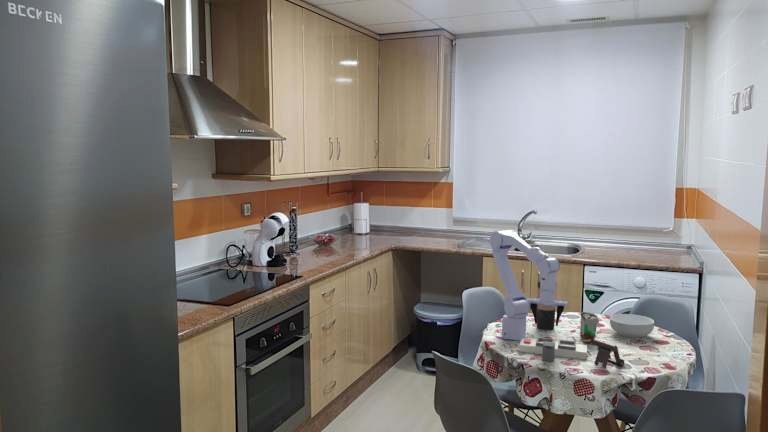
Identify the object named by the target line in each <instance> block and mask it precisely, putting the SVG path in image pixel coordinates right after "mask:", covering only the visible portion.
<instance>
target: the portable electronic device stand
mask: <svg viewBox="0 0 768 432" xmlns="http://www.w3.org/2000/svg"><path fill="white" fill-rule="evenodd" d="M592 345H594V346H596V347H597V353H596V356H595V360H594V365H596V366H599V364H600V363H601V364H602V366H601V367H602V368H603V369H606V368H607V365H608V363H611V364H615V365H618V366H619V367H623V366H624V365H625V359H622V358H621V357H620V353H619V350H618V346H617V345H616V344H615V345H614V344H612V343H609V342H605V341H602V340H599V339H597V338H595V339H594V340H593V343H592ZM612 352H613V356H614V357H612V355H611V353H612Z"/></svg>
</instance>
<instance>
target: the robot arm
mask: <svg viewBox="0 0 768 432" xmlns="http://www.w3.org/2000/svg"><path fill="white" fill-rule="evenodd" d="M488 241H489V244H490V246H491V249H492V251H491V252H492V256H493V259H494V262H495V265H496V268H497V271H498V275H499V277H500V279H501V282H502V286H503V288H504V292H505V296H504V298H503V300H502V302H503V306H504V307H503V309H504V312H505V314H503V316H502V322H501V323H502V324H501V339H504V340H513V341H520V342H521V340H522V338H528V336H529V335H528V334H527V317H529V316H528V315H529V313H530V312H531V313H532V317H533V320H534V324H536V325H537V308H538V305H546V306H556V317H555V319H556V320H555V326H556V327H559V321H560V318H561V316H562V314H563V312H564V310H565V309H568V301H563V300H557V299H556V300H555V293H556V294H557V272H558V271H559V270H560V268H561V263H560V260H559V259H558V258H557V257H555V256H549V254H548V253H545V252H543V250H541V248H540V247H538V246H533V247H532V246H530V244H528V243H527V242H526V241H525V240H524V239H523V238H521V237H520V236H519V234H518V232H516V231H515V230H514V229H507V230H499V231H498V230H494V231H492V232H491V234H490V237H489V239H488ZM513 247H514V248H516V249H517V250H519V251H520V252H522V253H524V254H525V257H526V259H527V260H528V261H530V262H531V263H532V264H533V265H535V266H536V267H537V270H538V272H539V277H540V281H539V282H540V299H537V298H527V295H526V294H525V293H524V292H522V291H521V290H520V288H519V284H518V283H517V280H516V275H515V273H514V271H513V268H512V264H511V262H510V259H509V256H508V254H509V252H510V251H511V249H512V248H513Z"/></svg>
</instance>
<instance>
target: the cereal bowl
mask: <svg viewBox="0 0 768 432" xmlns="http://www.w3.org/2000/svg"><path fill="white" fill-rule="evenodd" d="M609 325H610V327H611V329H612V330H613V331H614V332H615V333H616V334H619V335H621V336H622V337H624V338H628V339H641V338H642V337H645V336H648V335H649V334H651V333H652V332H653V330H654V328H655V320H654V319H652V318H651V317H648V316H644V315H638V314H631V313H619V314H613V315H611V316H609Z"/></svg>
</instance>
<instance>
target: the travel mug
mask: <svg viewBox="0 0 768 432" xmlns="http://www.w3.org/2000/svg"><path fill="white" fill-rule="evenodd" d="M536 299H540V281H538V283H537V298H536ZM555 300H557V292H556V293H555ZM556 310H557V307H556V306H546V305H538V308H537V324H536V328H537V329H539V330H542V331H553V330H554V329H555V324H556V320H555V319H556Z"/></svg>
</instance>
